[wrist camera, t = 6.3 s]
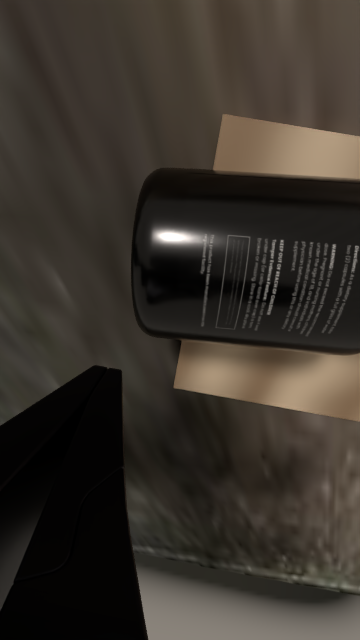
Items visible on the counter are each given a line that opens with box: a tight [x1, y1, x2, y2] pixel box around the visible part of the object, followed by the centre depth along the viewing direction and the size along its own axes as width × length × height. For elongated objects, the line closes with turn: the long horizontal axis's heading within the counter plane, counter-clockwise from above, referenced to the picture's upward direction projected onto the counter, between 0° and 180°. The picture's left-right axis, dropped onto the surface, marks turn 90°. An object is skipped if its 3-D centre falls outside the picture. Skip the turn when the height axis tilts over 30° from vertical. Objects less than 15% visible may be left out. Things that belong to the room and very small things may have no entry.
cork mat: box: [173, 114, 360, 422], centre depth 16 cm, size 14×16×1 cm
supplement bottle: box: [131, 168, 360, 356], centre depth 11 cm, size 7×7×12 cm
